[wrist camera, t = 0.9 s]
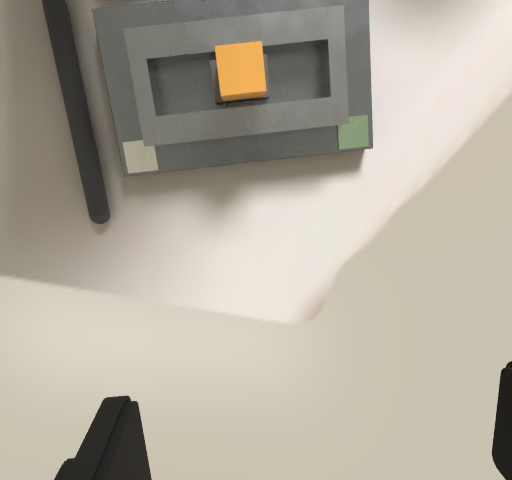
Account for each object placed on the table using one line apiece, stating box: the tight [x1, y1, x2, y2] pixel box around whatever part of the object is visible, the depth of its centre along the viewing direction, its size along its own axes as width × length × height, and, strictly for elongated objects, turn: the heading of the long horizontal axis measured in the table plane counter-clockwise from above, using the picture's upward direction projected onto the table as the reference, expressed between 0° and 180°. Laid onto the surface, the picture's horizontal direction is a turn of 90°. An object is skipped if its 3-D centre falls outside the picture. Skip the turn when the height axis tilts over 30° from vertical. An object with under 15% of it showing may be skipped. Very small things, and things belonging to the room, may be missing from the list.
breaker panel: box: [92, 0, 373, 176], centre depth 30 cm, size 12×20×4 cm, turn 96°
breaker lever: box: [210, 41, 271, 104], centre depth 27 cm, size 3×4×6 cm
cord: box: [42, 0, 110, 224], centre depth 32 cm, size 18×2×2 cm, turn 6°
